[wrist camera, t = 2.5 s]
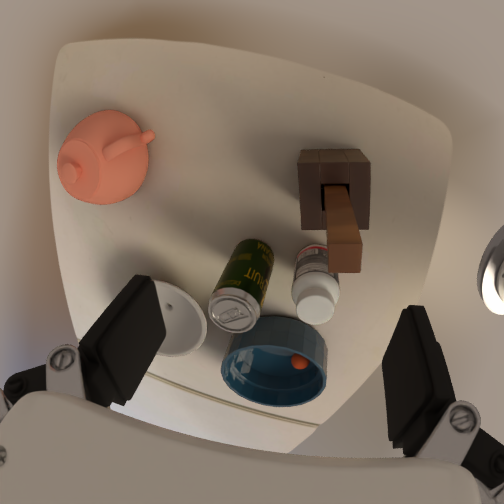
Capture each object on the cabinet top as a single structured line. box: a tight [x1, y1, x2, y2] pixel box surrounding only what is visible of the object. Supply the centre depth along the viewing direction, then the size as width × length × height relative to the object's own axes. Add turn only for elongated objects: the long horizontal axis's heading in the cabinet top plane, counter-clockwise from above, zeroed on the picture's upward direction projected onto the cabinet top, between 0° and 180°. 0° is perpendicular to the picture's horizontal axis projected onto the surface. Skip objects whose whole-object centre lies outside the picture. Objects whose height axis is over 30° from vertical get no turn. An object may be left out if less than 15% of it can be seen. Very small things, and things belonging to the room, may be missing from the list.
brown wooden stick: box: [323, 184, 363, 273], centre depth 25 cm, size 2×2×18 cm
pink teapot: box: [57, 110, 155, 205], centre depth 31 cm, size 12×14×10 cm
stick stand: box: [297, 149, 371, 230], centre depth 29 cm, size 7×7×7 cm
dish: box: [152, 280, 207, 357], centre depth 45 cm, size 18×14×5 cm
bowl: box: [221, 316, 328, 407], centre depth 45 cm, size 16×16×6 cm
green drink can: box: [208, 239, 275, 333], centre depth 34 cm, size 5×5×12 cm
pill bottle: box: [292, 244, 340, 325], centre depth 34 cm, size 5×5×10 cm
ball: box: [291, 353, 310, 369], centre depth 45 cm, size 3×3×3 cm
